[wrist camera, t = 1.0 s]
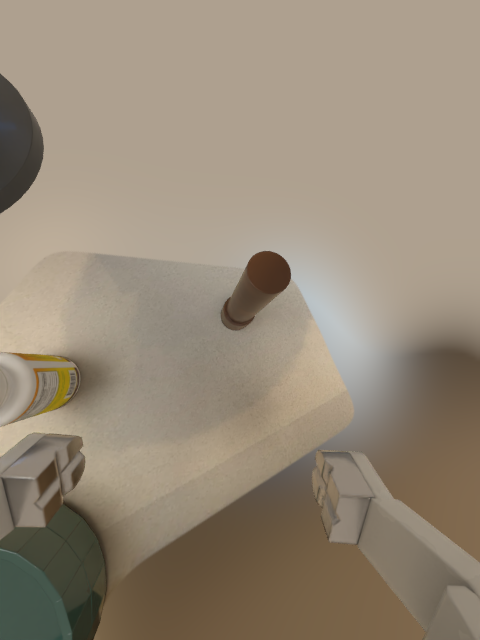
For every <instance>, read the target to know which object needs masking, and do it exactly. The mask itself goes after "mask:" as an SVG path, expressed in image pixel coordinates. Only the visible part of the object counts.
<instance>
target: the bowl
mask: <svg viewBox="0 0 480 640" xmlns="http://www.w3.org/2000/svg"><path fill="white" fill-rule="evenodd" d="M105 593H106V578H105V562H104V558H103V555H102V552H101V549H100V546H99V542H98V539H97V537H96V535H95V534H94V533H93V531H92V530H91V528H90V527H89V526H88V524H87V523H86V521H85V520H84V519H82V517H81V516H80V515H78V514H77V513H75V512H74V511H73V510H71V509H70V508H68V507H67V506H66V505H63V504H62V505H61V507H60V508H59V510H58V511H57V512H56V514H55V515H54V516H53V518H52V519H51V520H50V522H49V523H48V524H47V526H46V527H45V528H43V527H14V530H12V531H11V532H10V533H9V534H7V535H6V536H5V537H3V538H2V539H1V540H0V640H93V639H94V636H95V633H96V631H97V628H98V626H99V623H100V619H101V614H102V609H103V604H104V599H105Z"/></svg>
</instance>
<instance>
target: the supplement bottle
mask: <svg viewBox="0 0 480 640" xmlns="http://www.w3.org/2000/svg"><path fill="white" fill-rule="evenodd" d="M79 386H80V372H79V370H78V368H77V366H76V365H75V364H74V363H73V362H72V361H70V360H69V359H67V358H64V357H61V356H53V355H38V354H22V353H6V352H0V427H2V426H5V425H8V424H11V423H14V422H17V421H20V420H23V419H26V418H30V417H33V416H36V415H39V414H42V413H45V412H48V411H52V410H55V409H57V408H60V407H62V406H63V405H65V404H66V403H68V402H69V401H70V400H71V399H72V398H73V397H74V396H75V394H76V393H77V391H78V389H79Z"/></svg>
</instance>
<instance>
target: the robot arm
mask: <svg viewBox="0 0 480 640" xmlns="http://www.w3.org/2000/svg"><path fill="white" fill-rule="evenodd" d="M82 446H83V441H82V437H79V436H72V435H61V434H45V433H32V434H29V435H27V436H26V437H25V438H24V439H22V440H21V441H20V442H19V443H18V444H16V445H15V446H14V447H13V448H11V449H10V450H9V451H8V452H7V453H5V454H4V455H3V456H2V457H0V540H1V539H2V538H3V537H5V536H6V535H7V534H9V533H10V532H11V531H12V530H14V527H43V528H45V527H46V526H47V524H48V523H49V522H50V520H51V519H52V518H53V516H54V515H55V514H56V512H57V511H58V510H59V508H60V507H61V505H62V504H63V496H64V495H65V494H67V493H68V492H70V491H71V490H73V489H74V488H75V486H76V485H77V483H78V482H79V480H80V478H81V476H82V474H83V471H84V468H85V456H84V455H83V454H82V453H81V452H80V449H81V448H82ZM315 460H316V463H317V466H316V467H315V468H314V469H313V474H312V488H313V493H314V497H315V500H316V503H317V504H318V505H319V506H320V507H321V508H322V515H321V519H322V522H323V525H324V528H325V532H326V535H327V538H328V541H329V542H331V543H343V544H354V545H358V548H359V549H360V550H361V552H362V553H363V554H364V555H365V557H366V558H367V559H368V560H369V562H370V563H371V564H372V565H373V567H374V568H375V569H376V570H377V572H378V573H379V574H380V575H381V577H382V578H383V579H384V580H385V582H386V583H387V584H388V585H389V587H390V588H391V589H392V590H393V592H394V593H395V594H396V595H397V597H399V599H400V600H401V602H402V603H403V604H404V605H405V606H406V608H407V609H408V610H409V612H410V613H411V614H412V615H413V616H414V617H415V619H416V620H417V622H418V623H419V624H420V625H421V627H422V628H423V629H424V630H425V632H426V633H425V635H424V637H423V639H422V640H480V562H478V561H477V560H476V559H474V558H473V557H472V556H471V555H469V554H468V553H467V552H465V551H464V550H463V549H462V548H460V547H459V546H458V545H456V544H455V543H454V542H453V541H451V540H450V539H449V538H447V537H446V536H445V535H444V534H442V533H441V532H440V531H438V530H437V529H436V528H435V527H433V526H432V525H431V524H430V523H428V522H427V521H426V520H424V519H423V518H422V517H421V516H419V515H418V514H417V513H415V512H414V511H413V510H412V509H410V508H409V507H408V506H406V505H405V504H404V503H403V502H401V501H400V500H396V499H394V498H393V497H392V495H391V494H390V492H389V491H388V489H387V488H386V486H385V484H384V483H383V481H382V480H381V478H380V477H379V475H378V474H377V472H376V471H375V469H374V468H373V466H372V465H371V463H370V461H369V460H368V459H367V457H366V455H365V454H364V453H362V452H353V451H352V452H351V451H347V452H346V451H330V450H318V451H317V453H316V457H315Z"/></svg>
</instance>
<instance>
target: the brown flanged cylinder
mask: <svg viewBox="0 0 480 640" xmlns="http://www.w3.org/2000/svg"><path fill="white" fill-rule="evenodd" d="M290 279H291V272H290V268H289V265H288V263H287V262H286V260H285V259H284V258H283V257H282V256H280V255H278V254H277V253H274V252H271V251H263V252H259V253H257V254H255V255H254V256H253V257H252V258H251V259H250V260H249V262H248V265H247V267H246V268H245V270H244V272H243V274H242V276H241V278H240V280H239V282H238V284H237V286H236V288H235V290H234V292H233V294H232V296H231V297H230V298H229V299H228V300H227V301H226V302H225V304H224V306H223V309H222V311H221V319H222V322H223V324H224V325H225V326H226V327H227V328H229V329H231V330H240V329H243V328H244V327H246V326H247V325H248V324H249V323H250V322H252V320H253V319H254V317H255V315H256V314H257V313H258V312H259V311H260V310H262V309H263V308H264V307H265V306H266V305H267V304H268V303H270V302H271V301H272V300H273V299H274V298H275V297H276V296H278V295H279V294H280V293H281V292H282V291H283V290H284V289H286V287H287V286H288V285H289V282H290Z"/></svg>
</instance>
